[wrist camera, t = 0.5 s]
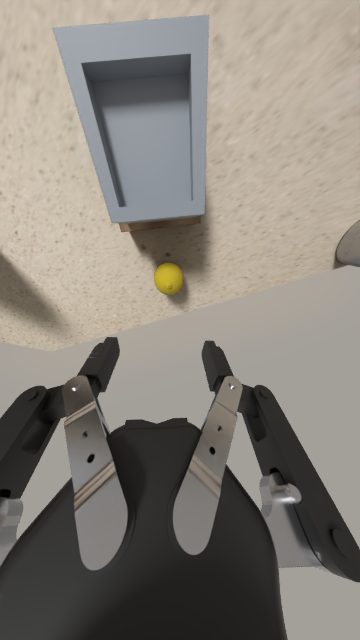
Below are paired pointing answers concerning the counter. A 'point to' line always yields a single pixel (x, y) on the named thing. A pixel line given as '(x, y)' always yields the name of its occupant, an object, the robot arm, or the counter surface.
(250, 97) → the counter surface
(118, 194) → the slate cup block
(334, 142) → the counter surface
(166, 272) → the lemon
